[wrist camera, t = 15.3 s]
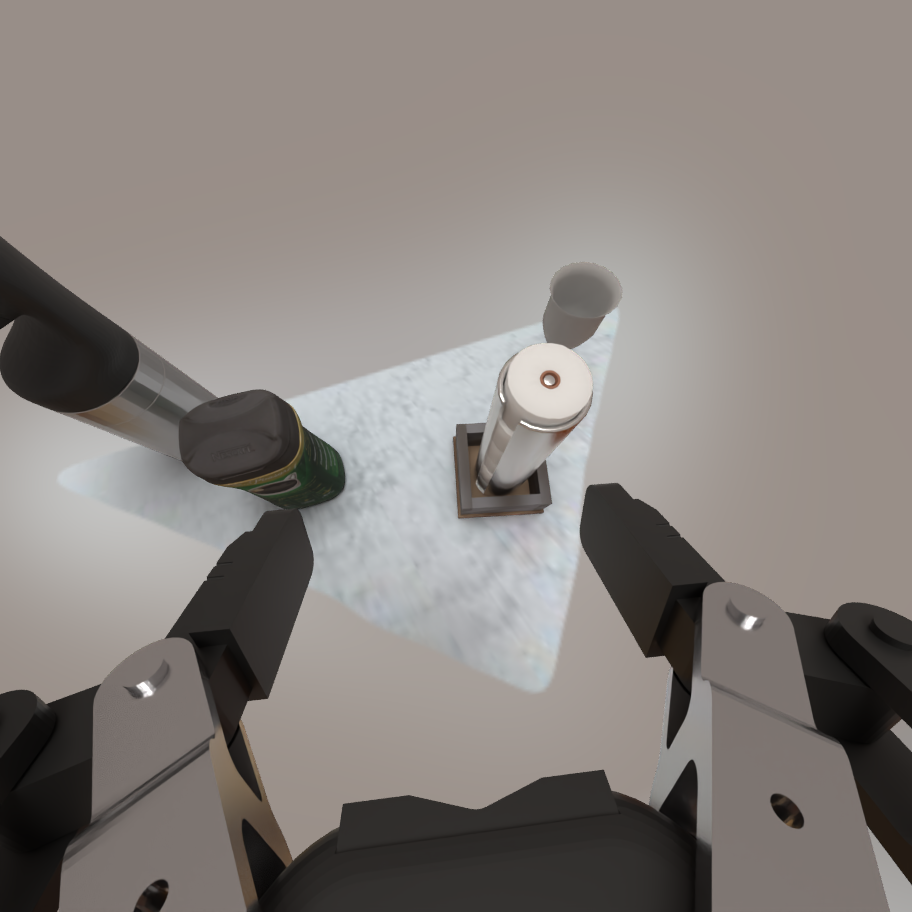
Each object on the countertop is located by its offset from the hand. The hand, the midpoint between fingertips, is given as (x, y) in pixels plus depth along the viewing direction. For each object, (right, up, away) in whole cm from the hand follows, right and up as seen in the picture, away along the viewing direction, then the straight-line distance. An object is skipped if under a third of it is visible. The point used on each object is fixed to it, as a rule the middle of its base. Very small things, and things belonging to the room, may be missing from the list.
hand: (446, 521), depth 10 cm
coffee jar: (-19, -1, +37) cm, 42 cm away
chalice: (+13, +13, +42) cm, 46 cm away
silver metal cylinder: (+6, -1, +37) cm, 37 cm away
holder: (+6, -1, +38) cm, 38 cm away
